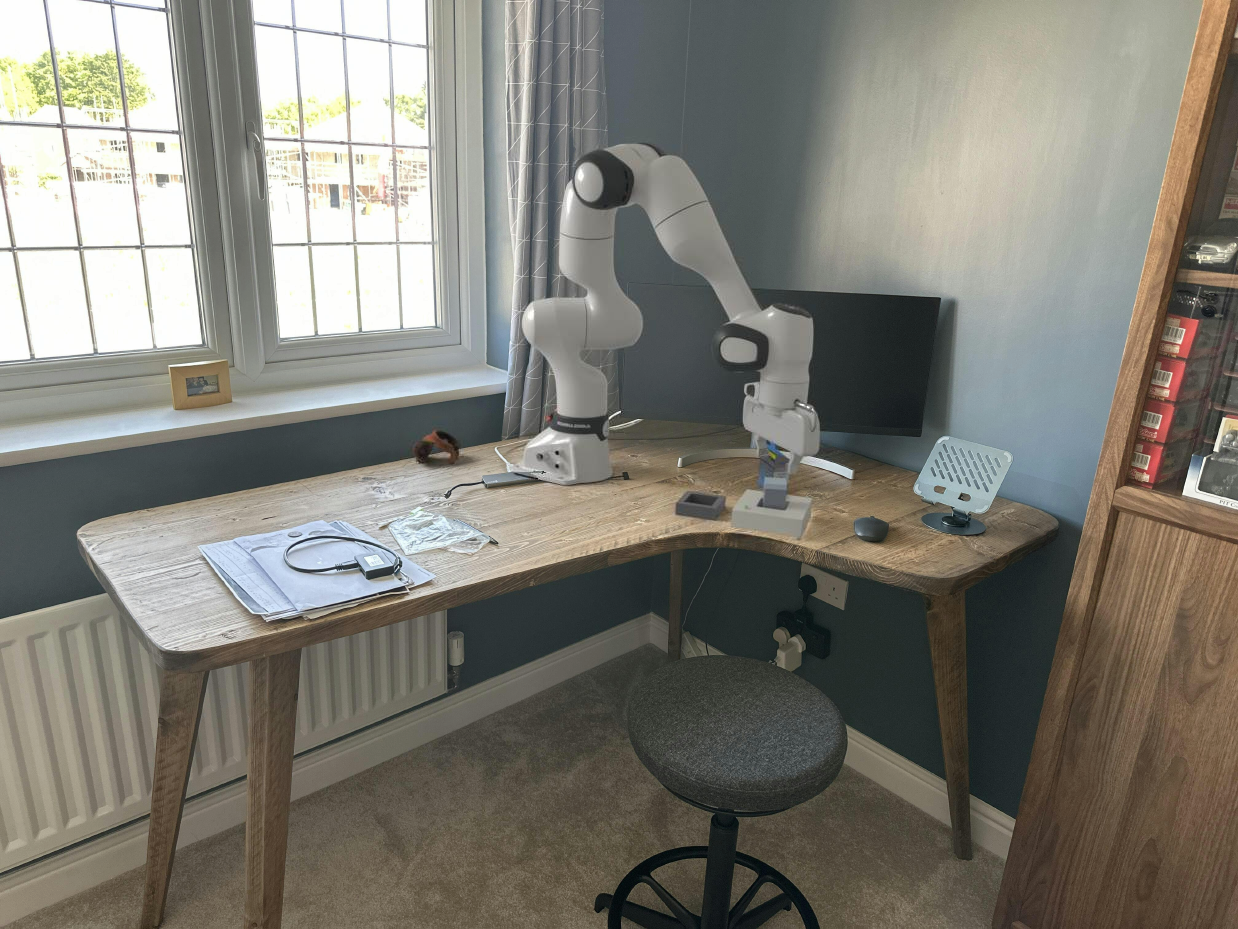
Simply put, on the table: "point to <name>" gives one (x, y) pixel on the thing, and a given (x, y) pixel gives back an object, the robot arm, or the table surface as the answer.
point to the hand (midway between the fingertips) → (776, 465)
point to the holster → (700, 505)
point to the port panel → (772, 515)
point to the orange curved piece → (437, 437)
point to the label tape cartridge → (773, 466)
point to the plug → (774, 493)
